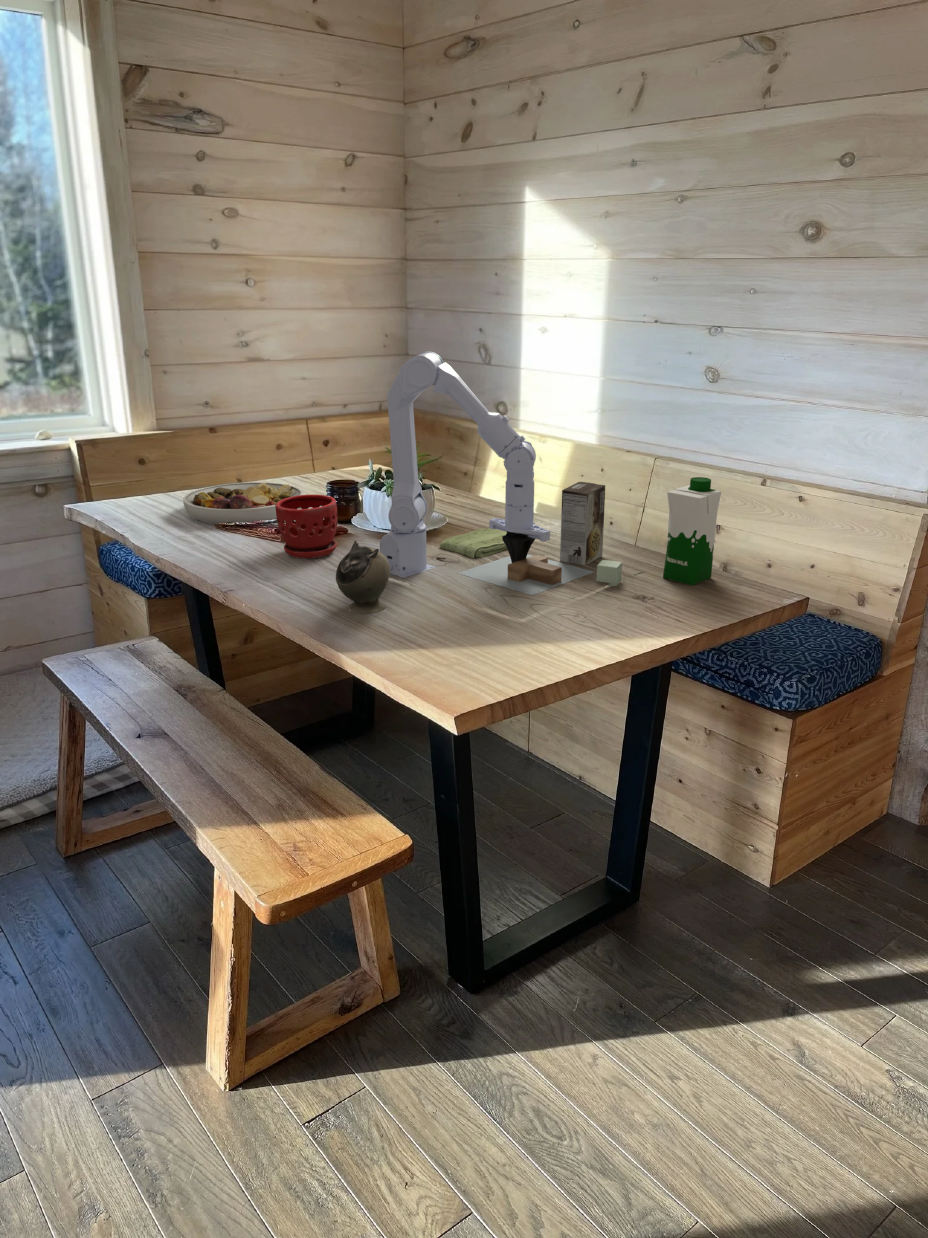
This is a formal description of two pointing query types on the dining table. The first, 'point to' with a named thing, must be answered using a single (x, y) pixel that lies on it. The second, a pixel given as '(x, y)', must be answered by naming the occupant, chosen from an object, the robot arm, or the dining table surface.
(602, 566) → the sage cube
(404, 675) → the dining table surface
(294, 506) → the plant pot
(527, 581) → the board
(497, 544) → the washcloth
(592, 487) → the coffee box
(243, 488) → the bowl
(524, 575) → the tee block
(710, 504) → the milk carton
